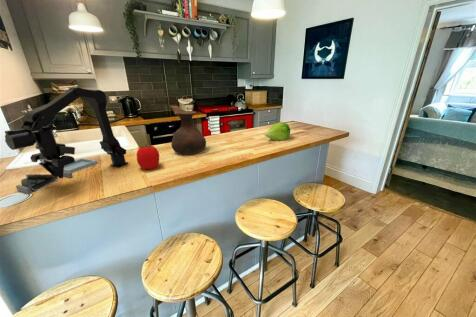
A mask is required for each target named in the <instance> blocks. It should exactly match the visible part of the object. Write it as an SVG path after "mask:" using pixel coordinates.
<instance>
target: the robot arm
mask: <svg viewBox="0 0 476 317" xmlns="http://www.w3.org/2000/svg"><path fill="white" fill-rule="evenodd" d="M79 98H80V99H84V100H86V102H87V103H88V104H89V106H90V107H91V108H92V109H93V111H94V114H95V116H96V120H97V123H98V127H99V129H100V133H101V136H102V141H99V144H100V149H101V150H103V152H105V153H106V154H107V155H110V159H111V164H110V165H109V166H111V167H116V168H120V167H123V166H125V165H128V164H129V161H126V158H125V155H126V154H127V149H125V148H124V147H122V146H121V144H120V142H119V140H118V139H117V137H116V136H114V133H113V129H112V126H111V123H110V118H109V116H108V113H107V112H108V111H107V105H108V99H107V95H106V93H105V92H104V91H103V90H100V89H87V88H82V87H78V86H70V87H69V88H68V89H67V90H65V91H64V92H63V93H61V94H60V95H58V96H57V97H55V98H54V99H53V100H52V99H51V101H50V102H48V103H46V104H45V105H42V106H39V107H36V108H33V109H31V110H28V111H27V112H26V113H24V121H23V123H22V125H21V126H20V128H19V129H15V130H14V129H12V130H5V131H4V133H5V135H4V138H5V139H4V141H5V144H6V145H7V147H8V148H9V149H10V150H12V151H13V150H18V149H24V148H28V147H33V146H34V145H35V144H37V145H36V146H35V149H36V150H39V152H38V153H33V154H32V155H30V161H31V162H32V163H37V162H38V161H39V163H38V165H39V166H41V167H42V168H43V169H45V170H46V171H47V172H48V173H49V174H50V175H51V174H52V175H53V176H54V177H58V179H63V178H64V177H63V173H64V166H65V165H68V164H71V163H74V162H75V160H76V158H75V157H74V156H71V155H75V153H76V152H75V151H76V147H74V146H67V145H66V143H57V140H56V138H55V134H54V131H57V130H59V127H58V126H57V127H56V126H54V124H52V122H53V121H54V120H55V119H56V117H57V115H58V114H59V113H60V112H61V111H63V110H64V109H65V108H67V107H68V106H69V105H71V104H72V103H74V102H75V101H77V99H79Z"/></svg>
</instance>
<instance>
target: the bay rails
mask: <svg viewBox="0 0 476 317" xmlns="http://www.w3.org/2000/svg"><path fill="white" fill-rule="evenodd" d="M73 177H74V176H73V173H70V172H66V171H64V173H63V178H69V179H72V178H73ZM15 188H16V189H17V192H20V193H23V194H27V195H31V194H33V192H32V189H30V188H28V187H25V186H22V184H18V185H15Z"/></svg>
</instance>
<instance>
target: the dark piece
mask: <svg viewBox="0 0 476 317" xmlns="http://www.w3.org/2000/svg"><path fill="white" fill-rule="evenodd" d="M25 177H26V178H22V179H21V181H20V183H21V184H20V185H21V186H25V187H28V188H30V190H31V191H32V190H33V191H35V192H36V191H38V190H39V191H40V190H41V189H44V188H45V187H47V186H49V185H51V184H53V183H55V182H57V181H58V179H59V177H54V176H53V175H52V174H51V173H49V174H48V173H47V174H46V173H45V174H37V173H36V174H32V173H31V174H26V175H25Z"/></svg>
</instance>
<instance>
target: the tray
mask: <svg viewBox="0 0 476 317" xmlns="http://www.w3.org/2000/svg"><path fill="white" fill-rule="evenodd" d="M98 164H99V163H98V160H96V159H90V158H84V157H81V158H79V159H75V162H74V163H71V164H68V165H65V166H64V171H66V172H70V173H72V174H73V173H75V172H78V171H81V170H84V169H86V168H89V167H92V166H95V165H98Z"/></svg>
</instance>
